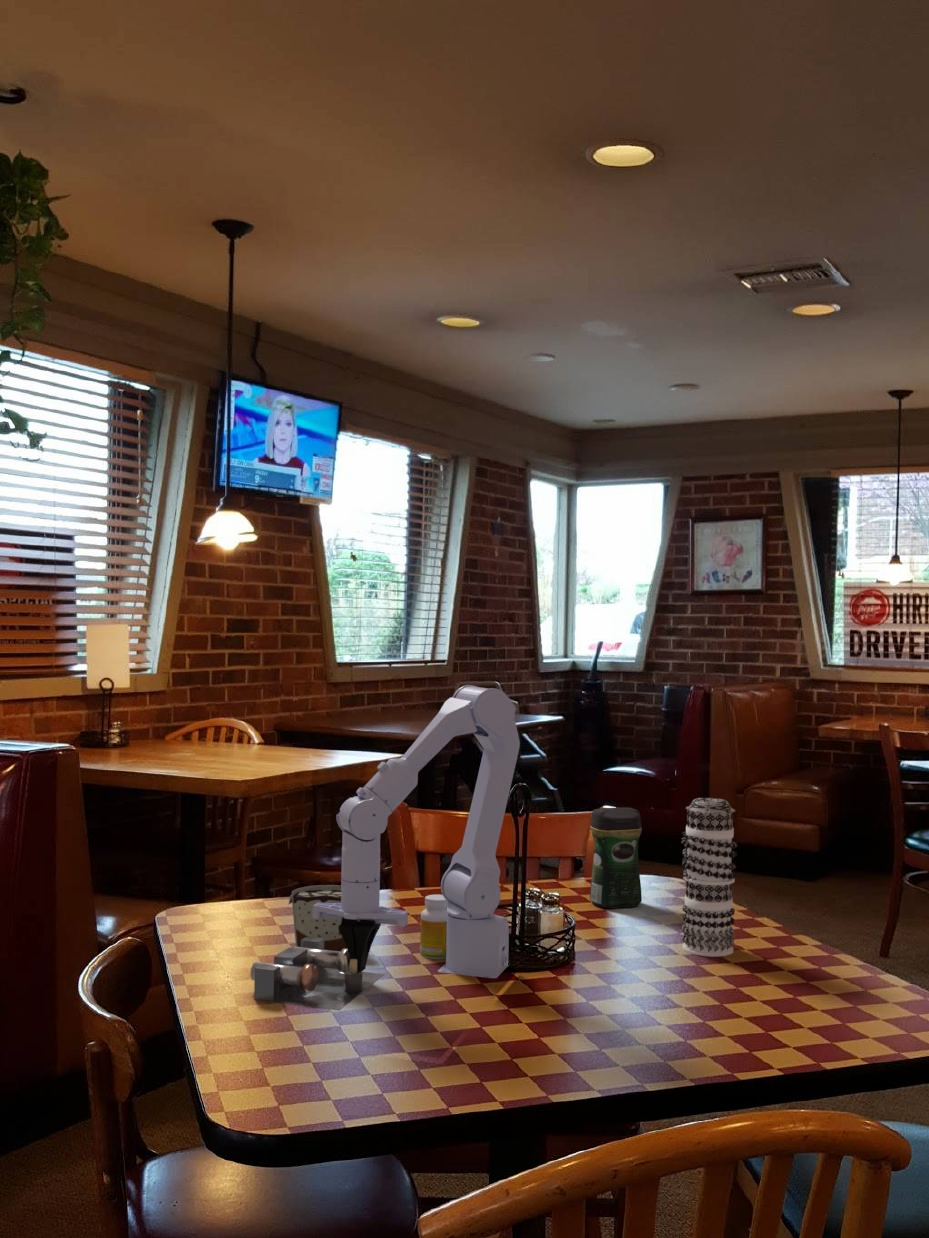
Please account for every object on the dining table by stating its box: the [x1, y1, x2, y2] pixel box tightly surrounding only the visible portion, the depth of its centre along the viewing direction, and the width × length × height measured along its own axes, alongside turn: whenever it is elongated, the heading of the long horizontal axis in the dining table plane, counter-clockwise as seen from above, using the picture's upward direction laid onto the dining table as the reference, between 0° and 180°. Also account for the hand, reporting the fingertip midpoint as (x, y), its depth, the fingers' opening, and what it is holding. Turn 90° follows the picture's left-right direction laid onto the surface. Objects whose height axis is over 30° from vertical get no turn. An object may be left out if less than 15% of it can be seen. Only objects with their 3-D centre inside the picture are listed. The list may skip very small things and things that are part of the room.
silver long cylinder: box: [293, 946, 350, 974], centre depth 175 cm, size 9×4×4 cm, turn 73°
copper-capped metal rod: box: [250, 961, 318, 991], centre depth 167 cm, size 9×4×4 cm, turn 73°
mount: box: [253, 937, 385, 1011], centre depth 170 cm, size 13×17×5 cm
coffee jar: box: [589, 807, 643, 909], centre depth 224 cm, size 10×8×19 cm
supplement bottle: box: [419, 894, 448, 960], centre depth 188 cm, size 5×5×10 cm
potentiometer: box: [344, 959, 363, 993], centre depth 169 cm, size 3×3×4 cm
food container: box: [288, 884, 347, 952], centre depth 191 cm, size 12×6×10 cm, turn 84°
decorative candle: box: [681, 797, 738, 958], centre depth 194 cm, size 9×9×25 cm
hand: (359, 969), depth 173 cm, fingers closed
